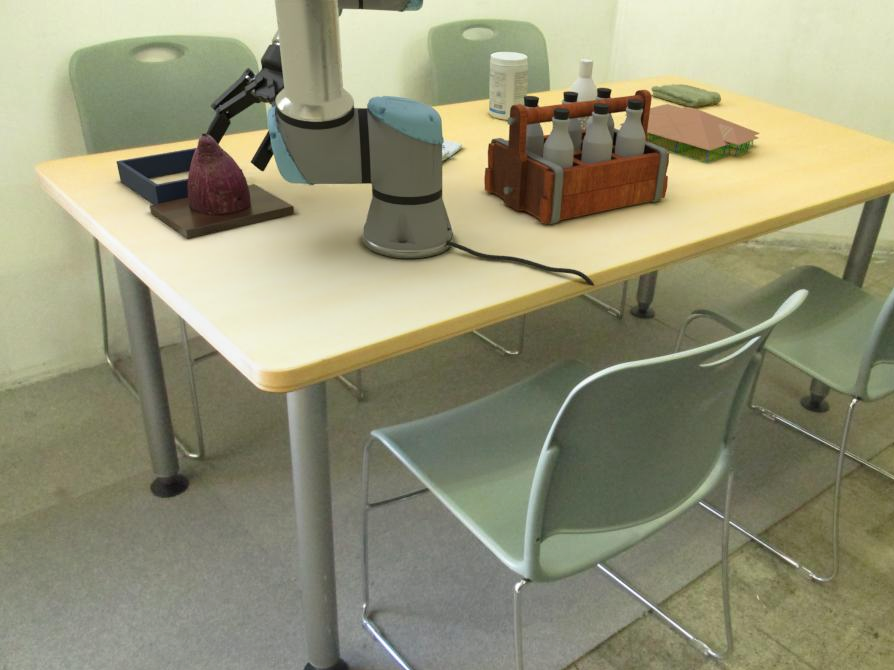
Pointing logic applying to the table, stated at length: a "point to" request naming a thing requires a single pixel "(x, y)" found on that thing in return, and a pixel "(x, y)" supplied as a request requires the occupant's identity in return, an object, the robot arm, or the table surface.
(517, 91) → the supplement tub
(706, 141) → the house
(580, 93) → the bath foam
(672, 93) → the washcloth
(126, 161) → the square frame
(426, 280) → the table surface
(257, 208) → the cutting board
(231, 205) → the vegetable
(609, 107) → the milk bottle holder
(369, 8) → the robot arm
